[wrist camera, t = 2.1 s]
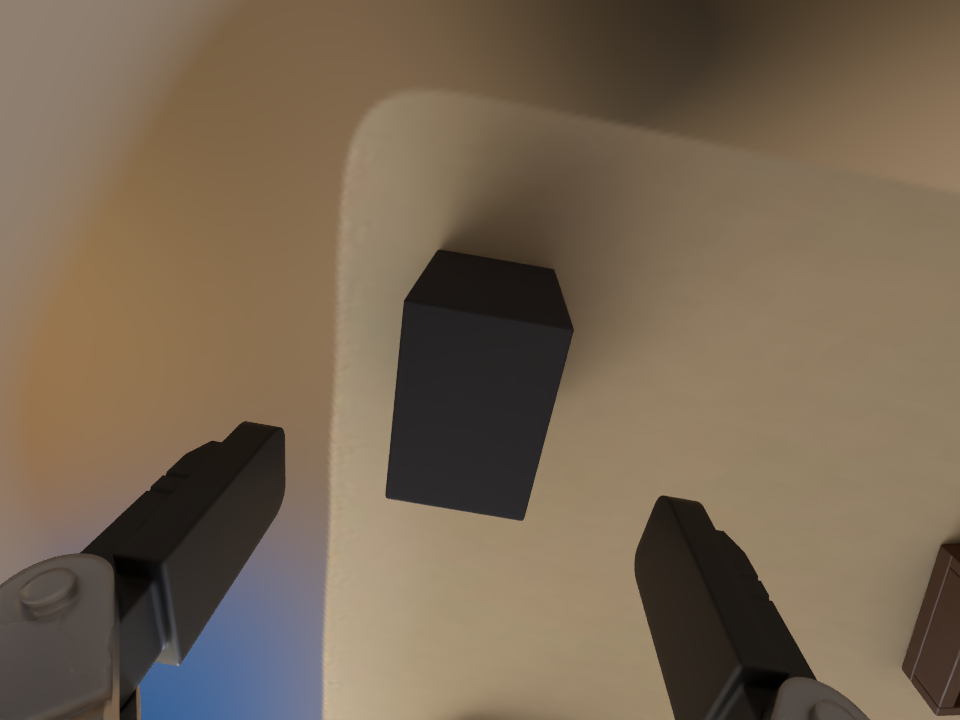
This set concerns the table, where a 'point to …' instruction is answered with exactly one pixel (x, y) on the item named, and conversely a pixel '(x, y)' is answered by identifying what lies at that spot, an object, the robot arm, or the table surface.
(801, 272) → the table surface
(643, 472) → the table surface
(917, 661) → the tray
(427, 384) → the black rectangular block
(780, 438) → the table surface
